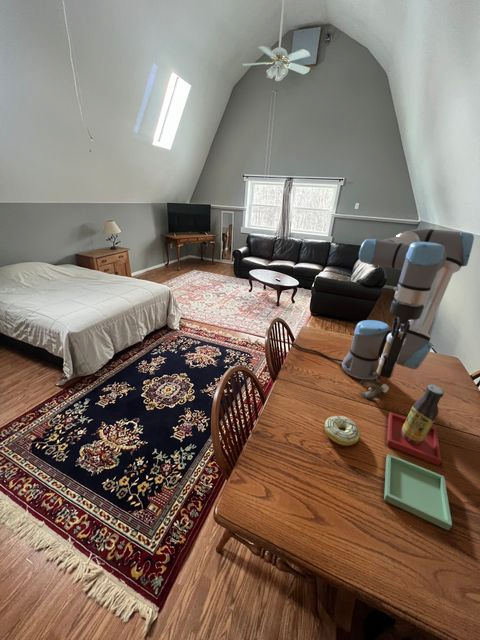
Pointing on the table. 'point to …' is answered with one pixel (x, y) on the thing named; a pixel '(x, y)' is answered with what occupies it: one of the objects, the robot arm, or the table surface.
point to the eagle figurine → (373, 388)
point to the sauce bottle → (422, 415)
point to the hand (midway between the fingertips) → (385, 372)
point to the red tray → (423, 450)
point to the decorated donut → (339, 436)
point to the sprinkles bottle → (386, 354)
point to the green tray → (417, 491)
